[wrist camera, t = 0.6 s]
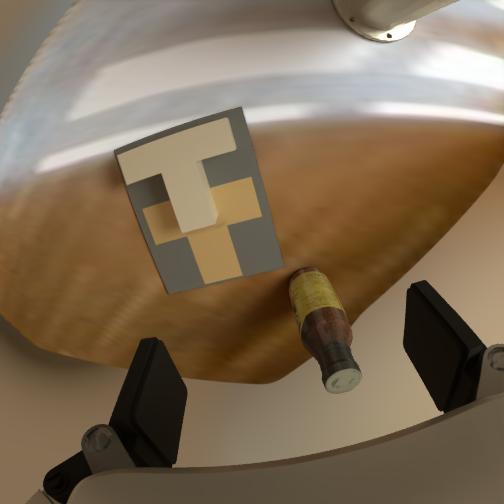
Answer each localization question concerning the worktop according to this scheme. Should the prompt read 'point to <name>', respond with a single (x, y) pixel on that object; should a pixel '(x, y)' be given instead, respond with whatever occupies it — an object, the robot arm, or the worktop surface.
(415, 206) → the worktop surface
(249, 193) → the mat
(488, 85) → the worktop surface
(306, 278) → the sauce bottle
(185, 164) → the T block
